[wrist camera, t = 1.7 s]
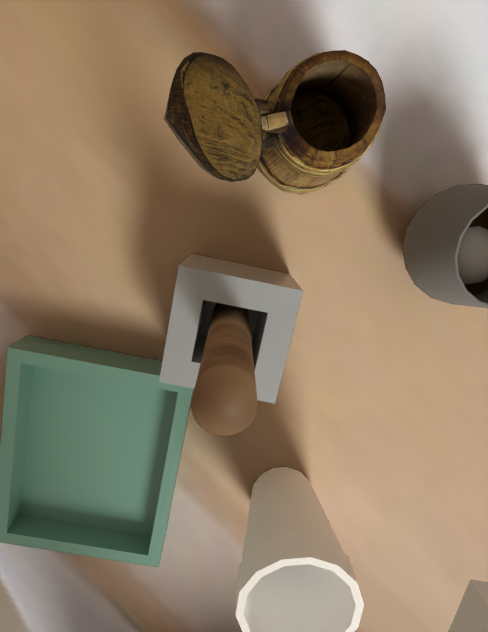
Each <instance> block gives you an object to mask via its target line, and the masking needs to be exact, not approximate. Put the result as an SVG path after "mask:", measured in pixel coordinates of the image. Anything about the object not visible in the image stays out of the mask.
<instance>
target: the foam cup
mask: <svg viewBox="0 0 488 632" xmlns="http://www.w3.org/2000/svg"><path fill="white" fill-rule="evenodd" d="M363 607H364V603H363V600H362V597H361V593H360V590H359V587H358V584H357V581H356V577H355V574H354V571H353V568H352V565H351V562H350V559H349V556H348V555H346V554H345V553H344V551H343V549H342V547H341V545H340V543H339V541H338V539H337V537H336V535H335V533H334V531H333V529H332V527H331V525H330V522H329V520H328V518H327V516H326V514H325V512H324V510H323V508H322V506H321V504H320V502H319V500H318V498H317V496H316V494H315V491H314V489H313V487H312V485H311V483H310V482H309V480H308V479H307V478H306V477H305V476H304V475H303V474H302V473H301V472H300V471H297V470H294V469H291V468H288V467H281V468H272V469H270V470H269V471H267V472H265V473H263V474H261V475H260V476H259V478H258V479H257V480H256V482H255V483H254V484H253V489H252V495H251V501H250V508H249V515H248V522H247V529H246V536H245V543H244V550H243V557H242V563H241V564H240V565H239V570H238V576H237V582H236V613H235V615H236V618H237V620H238V622H239V625H240V627H241V630H242V632H354V631H355V630H356V629H357V628H358V626H359V622H360V618H361V615H362V611H363Z"/></svg>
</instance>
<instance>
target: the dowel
mask: <svg viewBox="0 0 488 632" xmlns="http://www.w3.org/2000/svg"><path fill="white" fill-rule="evenodd" d="M191 408H192V413H193V416H194V418H195V420H196V421H197V423H198V424H199V425H200V426H201V427H202V428H203V429H205V430H206V431H208V432H210V433H212V434H216V435H221V436H228V435H234V434H237V433H240V432H241V431H243V430H245V429H246V428H247V427H248V426H250V424H251V423H252V422H253V420H254V419H255V417H256V414H257V410H258V400H257V390H256V381H255V371H254V361H253V351H252V342H251V332H250V322H249V313H248V309H246V308H241V307H236V306H231V305H226V304H221V303H217V304H216V305H215V307H214V310H213V314H212V318H211V322H210V326H209V330H208V335H207V339H206V343H205V347H204V351H203V355H202V359H201V364H200V368H199V372H198V376H197V380H196V384H195V388H194V393H193V397H192V402H191Z"/></svg>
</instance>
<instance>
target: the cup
mask: <svg viewBox="0 0 488 632" xmlns="http://www.w3.org/2000/svg"><path fill="white" fill-rule="evenodd" d="M403 254H404V261H405V268H406V270H407V271H408V273H409V275H410V277H411V279H412V280H413V282H414V284H415V285H416V286H417V287H418V288H420V289H421V290H422V291H423V292H424V293H426V294H427V295H428V296H429V297H431V298H433V299H437V300H440V301H443V302H447V303H450V304H455V305H464V306H473V307H482V308H488V185H483V184H471V185H457V186H454V187H452V188H450V189H447V190H445V191H443V192H440V193H438V194H435V195H434V196H433V197H432V198H431V199H430V200H428V201H427V202H426V203H425V204H424V205H423V206H422V207H421V208H419V209H418V210H417V212H416V214H415V216H414V217H413V219H412V221H411V222H410V224H409V226H408V227H407V230H406V235H405V240H404V245H403Z"/></svg>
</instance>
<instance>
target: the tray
mask: <svg viewBox="0 0 488 632" xmlns="http://www.w3.org/2000/svg"><path fill="white" fill-rule="evenodd" d="M161 367H162V361H161V360H155V359H150V358H145V357H140V356H134V355H129V354H124V353H118V352H113V351H108V350H103V349H97V348H92V347H87V346H82V345H76V344H71V343H66V342H60V341H55V340H50V339H45V338H39V337H34V336H29V335H27V336H26V337H24V338H22V339H21V340H19V341H17V342H16V343H14V344H12V345H11V346H9V347H8V349H7V362H6V376H5V389H4V403H3V416H2V430H1V443H0V542H1V543H8V544H14V545H20V546H27V547H33V548H39V549H46V550H52V551H58V552H65V553H71V554H77V555H84V556H90V557H96V558H103V559H109V560H115V561H122V562H128V563H134V564H141V565H147V566H153V567H159V562H160V558H161V553H162V549H163V544H164V540H165V535H166V530H167V524H168V519H169V514H170V509H171V504H172V499H173V493H174V488H175V483H176V478H177V473H178V468H179V463H180V457H181V452H182V447H183V442H184V437H185V432H186V426H187V421H188V416H189V411H190V406H191V401H192V395H193V390H194V389H193V388H188V387H183V386H177V385H172V384H167V383H161V382H159V378H160V373H161Z"/></svg>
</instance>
